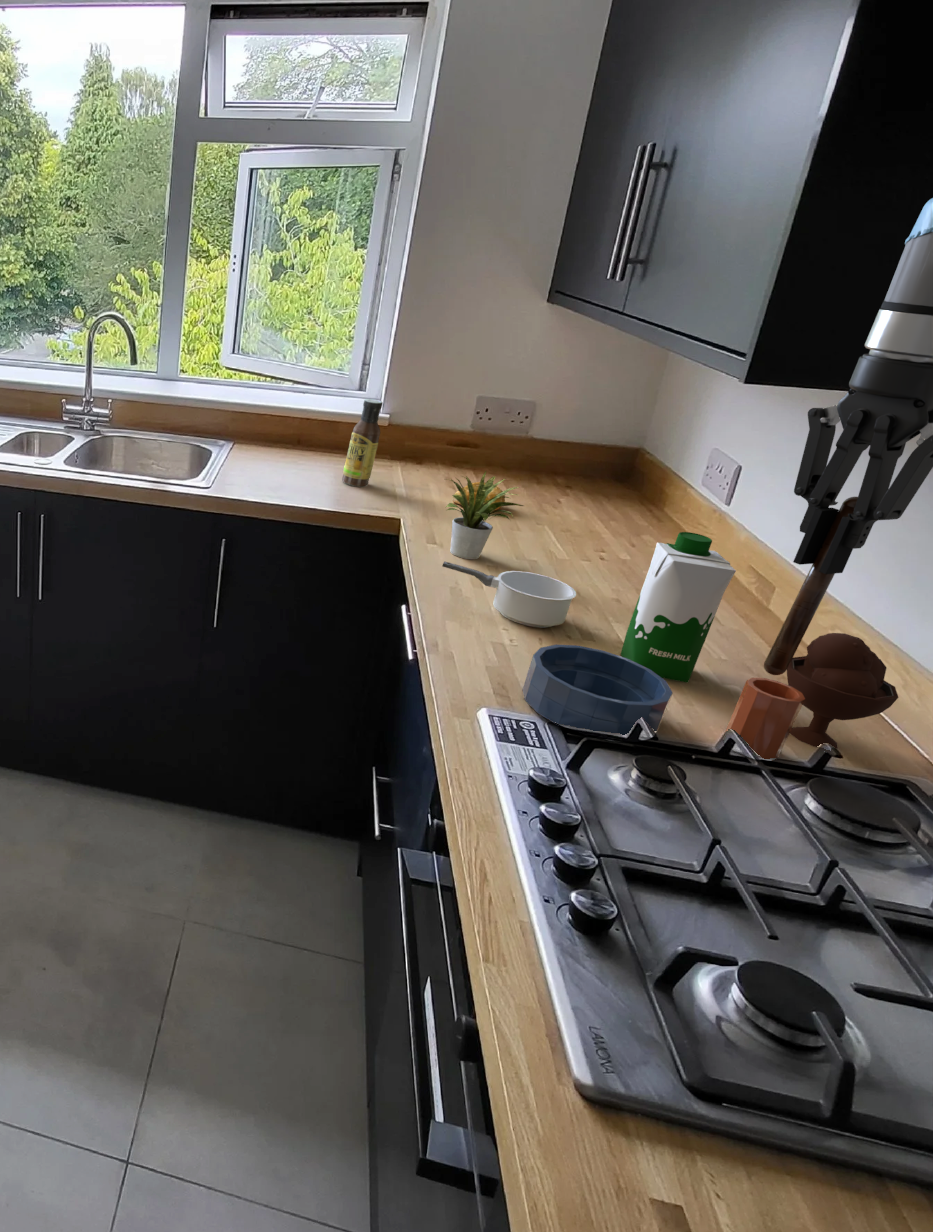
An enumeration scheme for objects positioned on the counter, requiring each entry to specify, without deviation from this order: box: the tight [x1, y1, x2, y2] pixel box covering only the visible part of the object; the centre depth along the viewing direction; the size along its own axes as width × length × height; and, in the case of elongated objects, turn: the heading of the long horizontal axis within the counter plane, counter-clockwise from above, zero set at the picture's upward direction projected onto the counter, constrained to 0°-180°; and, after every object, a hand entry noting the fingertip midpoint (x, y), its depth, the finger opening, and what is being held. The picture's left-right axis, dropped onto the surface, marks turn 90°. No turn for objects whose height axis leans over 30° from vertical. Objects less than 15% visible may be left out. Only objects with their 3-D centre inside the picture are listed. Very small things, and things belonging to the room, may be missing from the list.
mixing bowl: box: [522, 644, 674, 735], centre depth 115 cm, size 16×16×6 cm
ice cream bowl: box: [786, 632, 899, 750], centre depth 111 cm, size 11×11×15 cm
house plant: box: [445, 470, 524, 560], centre depth 166 cm, size 14×14×16 cm
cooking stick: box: [763, 496, 858, 676], centre depth 102 cm, size 2×2×22 cm
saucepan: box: [442, 561, 577, 629], centre depth 145 cm, size 12×20×6 cm, turn 58°
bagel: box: [451, 481, 506, 512], centre depth 200 cm, size 10×11×5 cm
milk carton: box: [620, 531, 737, 684], centre depth 126 cm, size 9×9×20 cm
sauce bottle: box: [341, 398, 383, 488], centre depth 206 cm, size 6×6×20 cm
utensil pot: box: [724, 677, 805, 759], centre depth 108 cm, size 6×6×9 cm
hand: (817, 567), depth 101 cm, fingers closed on cooking stick, 2 cm apart
